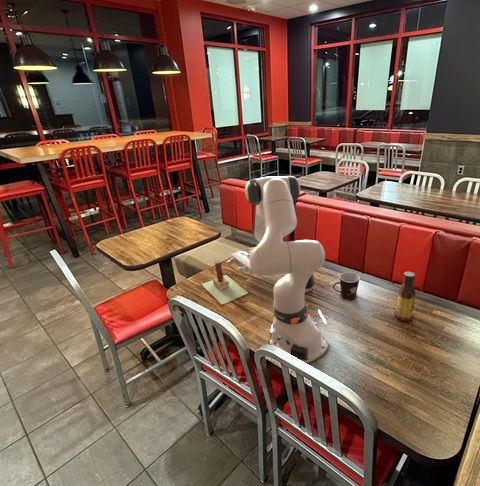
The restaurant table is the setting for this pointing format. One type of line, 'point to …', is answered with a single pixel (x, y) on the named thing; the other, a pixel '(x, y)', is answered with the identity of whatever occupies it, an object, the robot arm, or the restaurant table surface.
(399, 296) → the sauce bottle
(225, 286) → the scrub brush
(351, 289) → the coffee mug
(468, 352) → the restaurant table surface
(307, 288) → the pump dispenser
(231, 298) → the scrub mat
